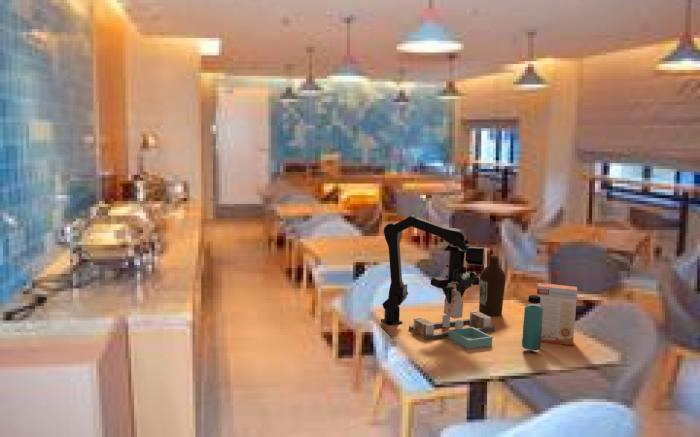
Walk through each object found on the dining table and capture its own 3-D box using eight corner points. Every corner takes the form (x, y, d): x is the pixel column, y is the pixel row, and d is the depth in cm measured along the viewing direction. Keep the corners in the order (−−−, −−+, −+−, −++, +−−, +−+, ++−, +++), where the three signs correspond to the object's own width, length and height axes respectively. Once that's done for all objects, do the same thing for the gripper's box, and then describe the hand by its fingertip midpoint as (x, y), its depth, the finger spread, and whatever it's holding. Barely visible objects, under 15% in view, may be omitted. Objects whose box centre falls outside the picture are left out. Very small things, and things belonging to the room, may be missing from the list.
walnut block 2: (470, 325, 250) (471, 313, 249) (479, 324, 252) (479, 312, 251) (480, 330, 244) (481, 317, 244) (488, 328, 246) (489, 316, 245)
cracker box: (573, 341, 235) (577, 286, 232) (573, 346, 229) (578, 289, 226) (533, 335, 240) (538, 281, 237) (532, 340, 234) (537, 285, 231)
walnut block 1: (414, 332, 239) (415, 319, 238) (423, 331, 240) (424, 318, 240) (422, 337, 233) (423, 324, 232) (432, 336, 235) (432, 323, 234)
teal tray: (448, 339, 232) (448, 329, 232) (471, 335, 237) (471, 326, 236) (468, 349, 221) (468, 340, 221) (491, 346, 226) (492, 337, 225)
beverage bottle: (541, 355, 218) (545, 299, 216) (521, 353, 220) (525, 297, 217) (539, 349, 225) (544, 294, 222) (520, 347, 226) (524, 292, 223)
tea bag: (451, 312, 245) (453, 287, 244) (462, 317, 239) (464, 292, 238) (443, 313, 244) (445, 288, 242) (454, 318, 238) (456, 292, 236)
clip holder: (408, 329, 241) (409, 317, 241) (475, 321, 255) (475, 309, 254) (426, 340, 230) (427, 326, 229) (495, 331, 243) (495, 318, 243)
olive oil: (496, 309, 274) (500, 252, 270) (507, 316, 263) (511, 257, 260) (473, 310, 271) (477, 252, 268) (484, 317, 261) (488, 257, 257)
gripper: (447, 269, 227) (445, 311, 230) (489, 266, 235) (486, 306, 238) (430, 262, 237) (428, 303, 240) (471, 259, 245) (469, 299, 248)
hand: (453, 303), depth 241 cm, fingers closed on tea bag, 4 cm apart
